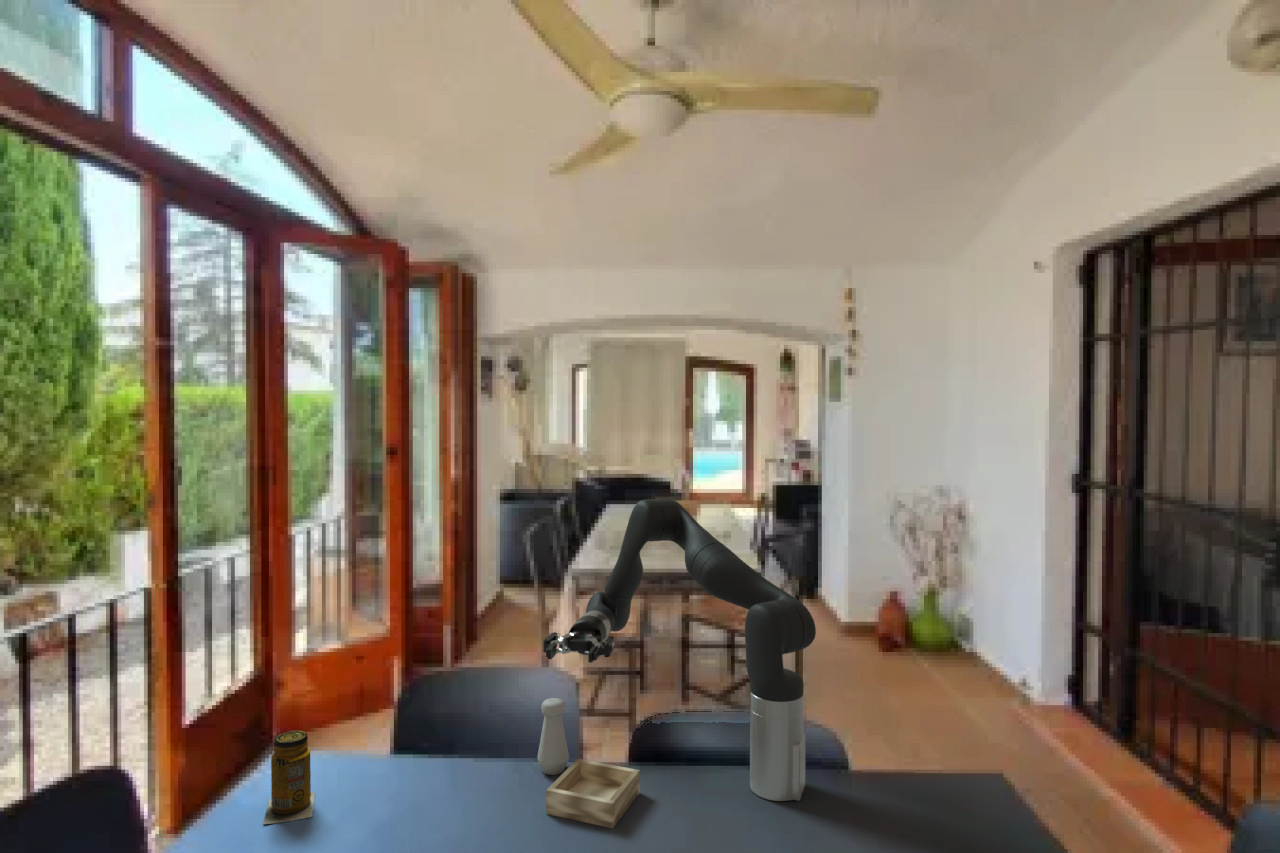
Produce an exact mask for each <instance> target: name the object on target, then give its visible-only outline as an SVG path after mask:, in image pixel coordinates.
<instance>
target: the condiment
mask: <svg viewBox="0 0 1280 853" xmlns="http://www.w3.org/2000/svg"><path fill="white" fill-rule="evenodd" d="M308 738H309V737H308V733H307V732H306V731H303V730H291V731H286V732H285V731H284V732H282V733H280V734H279V735H277V736H276V737H274V739H273V743H272V744H273V750H272V751H273V753H272V755H271V758H270V765H271V766H270V769H271V770H270V771H271V772H270V774H271V777H270V778H271V780H270V782H271V785H270V786H271V788H270V790H271V793H270V794H271V798H269V799H268V801H267V806H266V811H265V814H264V819H263V822H262V825H268V824H269V825H271V824H278V823H284V822H285V823H286V822H293V821H296V820H304V819H306V818H312V817H313V811H314V804H315V795H316V792H315V791H313V792H311V790H312V789H311V787H312V786H311V785H312V783H311V781H312V780H311V778H312V777H311V776H312V775H311V772H312V771H311V749H310V748H309V741H308V740H309V739H308Z"/></svg>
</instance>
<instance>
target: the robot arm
mask: <svg viewBox="0 0 1280 853" xmlns="http://www.w3.org/2000/svg"><path fill="white" fill-rule="evenodd" d="M663 541H665V542H667V541H669V542H673V543H675V544H677V546H679V547H680V548H681V549H682V550H683V551H684V566H685V568H686V571H687V573H688V574H689V576H690V577H691V578H692V579H693V580H694V581H695V582H696V583H697V584H698V585H699V586H700V587H701V588H702V589H703V590H704V591H706V592H707V593H708V594H709V595H711V596H713V597H715V598H717V599H719V600H722V601H724V602H726V603H730V604H733V605H736V606H738V607H741V608H743V609H745V610H748V611H747V613H746V616H745V621H744V622H745V623H744V642H745V643H744V644H745V665H746V672H747V676H748V679H749V684H750V685H749V687H750V688H749V689H750V690H749V691H750V693H749V695H750V696H749V697H750V698H749V699H750V701H749V702H750V707H749V708H750V709H749V710H750V712H749V713H750V714H749V719H750V722H749V725H750V726H749V734H750V735H749V747H750V748H749V788H750V789H751V792H753V793H754V794H755V795H756V796H758V797H760V798H762V799H765V800H768V801H774V802H786V801H798V802H799V801H800V800H801V799H802V797H803V796H802V795H803V792H804V790H805V787H806V732H804V679H803V677H802V676H801V674H799V673H797V672H796V671H794V670H791V669H788V668H784V658H783V655H786V654H790V653H791V654H792V653H796V652H799V651H803V650H804V649H806V648H808V647H809V646H811V645H812V643H813V642H814V641H815V638H816V633H817V631H816V630H817V629H816V628H817V627H816V624H815V620H814V617H813V616H812V613H811V612H810V610H809V609H808V608H807V607H806V606H805V604H803V602H801V601H800V600H799V599H797V598H796V597H795V596H793V595H791V593H788V592H787V591H785V590H783V589H782V588H780V587H778V586H777V585H775V584H774V583H772V582H770V581H769V580H768V579H766V578H765V577H764V576H762V574H760V573H759V572H758V571H756V570H755V569H754V568H752V567H751V566H750V565H748V564H747V563H746V562H744V560H742V559H741V558H740V557H739V556H738V555H737V554H735V553H734V551H732V550H731V549H730V548H728V547H727V546H726V545H725V544H724V543H722V542H721V541H719V540H718V539H717V538H715V537H714V536H713V535H712V534H711V533H710V532H709V531H707V529H705V528H704V527H703V526H702V525H700V523H699V522H698V521H697V520H695V518H694V517H693V516H692V514H690V513H689V512H688V510H686V508H684V506H683V505H682V504H680V502H678V501H677V500H675V499H671V498H655V499H653V498H649V499H641V500H639V501H638V502H637V503H635V505H634V506H633V508H632V510H631V513H630V516H629V518H628V523H627V526H626V530H625V532H624V536H623V539H622V544H621V547H620V551H619V554H618V558H617V560H616V563H615V565H614V567H613V569H612V571H611V573H610V575H609V576H608V578H607V581H606V583H605V584H604V585H605V586H604V591H596V592H595V593H593V594H592V596H591V597H590V598H589V599H588V602H587V605H586V608H585V613H584V614H583V615H582V616H580V617H579V618H578V619H577V621H575V623H574V624H573V625H572V626H571V628H570V629H569V631H568V633H566V634H564V635H562V636H561V635H560V636H559V635H558V632H556V631H555V632H551V634H549V635H548V636H546V637H545V638H544V639H543V641H542V642H543V644H542V645H543V647H542V648H543V649H542V650H543V653H545V657H546V658H547V660H549V661H550V660H553V658H554V657H555V656H556V655H557V654H562V655H565V654H569V653H578V654H579V655H584V656H587V657H588V658H587V659H588V663H589V664H591V663H594V662H595V661H597V660H598V659H599V658H601V657H602V656H603V657H605V658H610V657H611V656H612V654H613V652H614V650H615V637H614V636H612V635H611V636H609V634H610V633H611V632H619V631H621V630H623V629H624V628H625V627H626V625H627V623H628V622H629V619H630V615H631V606H632V602H633V601H632V600H633V598H634V595H635V593H636V591H637V590H638V588H639V586H640V583H641V582H642V579H643V577H644V576H643V575H644V566H643V562H642V558H641V552H642V549H643V548H644V546H645V545H646V543H648V542H663ZM557 647H558V648H557Z"/></svg>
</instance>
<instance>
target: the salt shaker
mask: <svg viewBox="0 0 1280 853" xmlns="http://www.w3.org/2000/svg"><path fill="white" fill-rule="evenodd" d="M565 708H566V707H565V701H564V700H563V699H561V698H558V697H552V698H551V697H550V698H546V699H545V700H543V702H542V703H541V709H540V710H541V713H542V715H543V716H544V718H543V723H542V728H541V733H540V734H541V735H540V739H539V741H540V742H539V747H538V752H537V762H538V764H539V766H540V768H541V770H542V772H543V773H544V774H545V775H551V776H556V775H559V774H563V773H564V772H565V770H566V769H565V768H566V765H567V764H568V763H569V760H570V755H569V749H568V745H567V740H566V734H565V727H564V721H563V717H562V716H563V714H565V711H566V709H565Z"/></svg>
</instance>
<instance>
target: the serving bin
mask: <svg viewBox="0 0 1280 853" xmlns="http://www.w3.org/2000/svg"><path fill="white" fill-rule="evenodd" d="M640 774H641V770H640V769H635V768H631V767H625V766H618V765H614V764H609V763H604V762H597V761H593V760H587V759H583V758H582V759H580V758H577V759H576V760H575V761H573V763H572V764H571V765H570V766H569V767H568V768H567V769H565V770H564V771H563V772H562V773H561V775H560V776H558V778H557V779H556V780H555V781H554V782H552V784H551V785H550V786H549V787H548V788H547V789H546V790H545V811H546V812H545V815H548V816H549V815H550V816H553V817H554V816H555V817H558V818H564V819H569V820H572V821H577V822H581V823H587V824H591V825H596V826H599V827H600V826H601V827H604V828H610V829H614V828H615V826H617V825H616V824H618V822H619V821H620V819H622V817H623V815H624V814H625V813H626V811H627V810H628V809H629V808H630V806H631V805H632V804H633V802H634V801H635V800H636V799H637V797H638V796H639V795H640V793H641V789H640V788H641V787H640V786H641V775H640Z"/></svg>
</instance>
